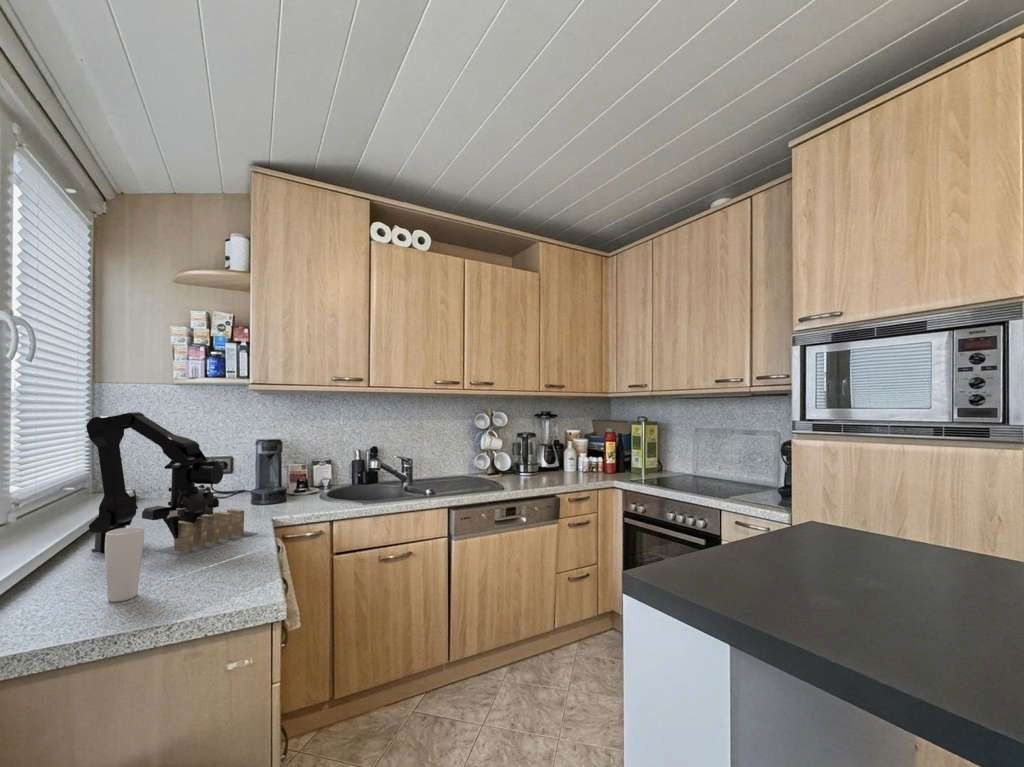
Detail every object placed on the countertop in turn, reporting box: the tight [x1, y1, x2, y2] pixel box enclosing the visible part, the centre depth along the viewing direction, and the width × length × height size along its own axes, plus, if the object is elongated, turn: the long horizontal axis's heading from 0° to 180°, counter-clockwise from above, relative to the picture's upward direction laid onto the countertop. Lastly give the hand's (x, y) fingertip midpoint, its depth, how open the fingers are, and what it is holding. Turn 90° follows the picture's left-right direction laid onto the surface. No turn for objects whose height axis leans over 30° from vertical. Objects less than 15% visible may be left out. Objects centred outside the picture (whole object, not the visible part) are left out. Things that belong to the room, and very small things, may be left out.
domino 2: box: [193, 517, 208, 547], centre depth 143 cm, size 2×6×8 cm, turn 66°
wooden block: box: [214, 510, 232, 540], centre depth 150 cm, size 2×6×8 cm, turn 66°
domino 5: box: [226, 508, 245, 536], centre depth 154 cm, size 2×6×8 cm, turn 66°
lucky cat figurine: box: [169, 484, 214, 521], centre depth 176 cm, size 15×12×14 cm
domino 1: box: [173, 520, 193, 552], centre depth 138 cm, size 2×6×8 cm, turn 66°
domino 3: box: [200, 514, 219, 544], centre depth 146 cm, size 2×6×8 cm, turn 66°
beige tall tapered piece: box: [104, 526, 145, 603], centre depth 106 cm, size 7×7×15 cm
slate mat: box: [154, 530, 260, 558], centre depth 146 cm, size 25×12×1 cm, turn 156°
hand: (181, 537), depth 138 cm, fingers open, 3 cm apart
